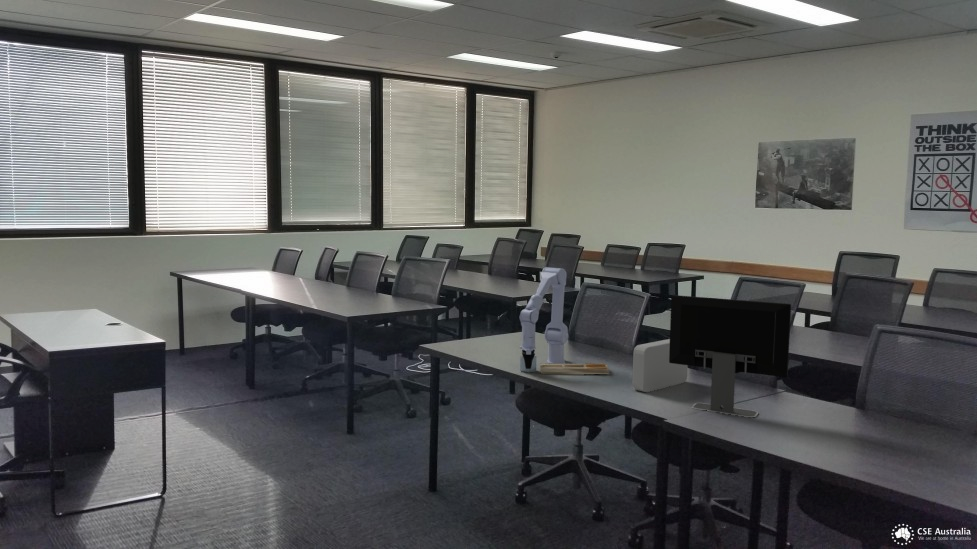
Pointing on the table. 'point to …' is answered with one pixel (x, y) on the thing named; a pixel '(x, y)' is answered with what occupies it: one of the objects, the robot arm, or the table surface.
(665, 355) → the rounded white slab
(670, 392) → the table surface
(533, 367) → the brushed gray metal block
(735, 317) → the computer monitor
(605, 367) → the rack
